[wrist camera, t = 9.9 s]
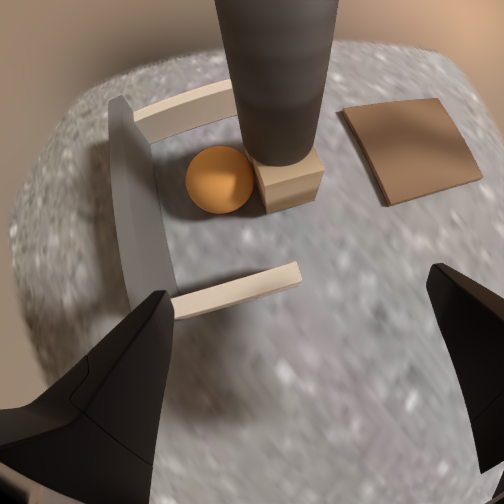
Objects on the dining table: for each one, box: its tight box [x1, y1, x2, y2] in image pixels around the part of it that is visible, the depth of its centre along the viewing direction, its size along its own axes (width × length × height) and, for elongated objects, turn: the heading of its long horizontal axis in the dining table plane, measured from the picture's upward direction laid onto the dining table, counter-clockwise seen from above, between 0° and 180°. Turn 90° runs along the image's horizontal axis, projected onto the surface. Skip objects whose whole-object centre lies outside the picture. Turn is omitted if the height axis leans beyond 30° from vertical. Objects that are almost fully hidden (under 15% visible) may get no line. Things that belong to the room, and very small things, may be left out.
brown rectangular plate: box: [342, 98, 483, 206], centre depth 18 cm, size 8×10×1 cm
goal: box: [108, 79, 302, 322], centre depth 16 cm, size 14×8×5 cm, turn 16°
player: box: [215, 0, 339, 214], centre depth 11 cm, size 5×4×13 cm
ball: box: [186, 146, 254, 214], centre depth 17 cm, size 4×4×4 cm
